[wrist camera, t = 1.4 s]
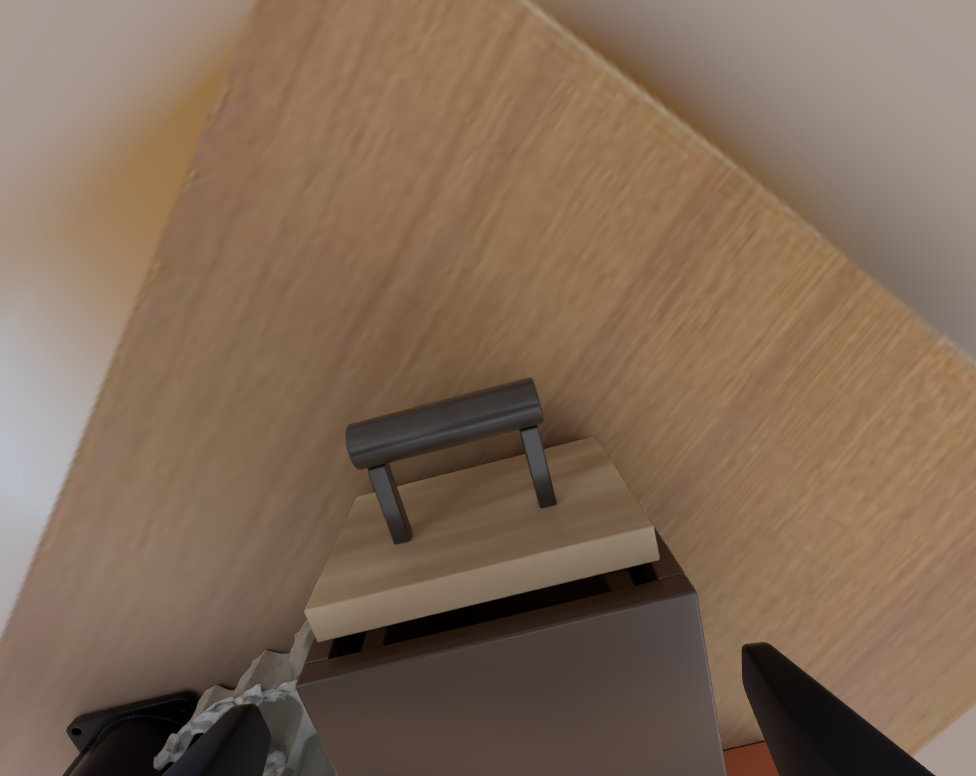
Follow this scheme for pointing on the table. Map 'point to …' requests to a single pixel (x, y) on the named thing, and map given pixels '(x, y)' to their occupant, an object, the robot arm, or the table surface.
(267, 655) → the egg carton
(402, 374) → the table surface
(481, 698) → the cabinet
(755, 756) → the block
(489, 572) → the drawer
